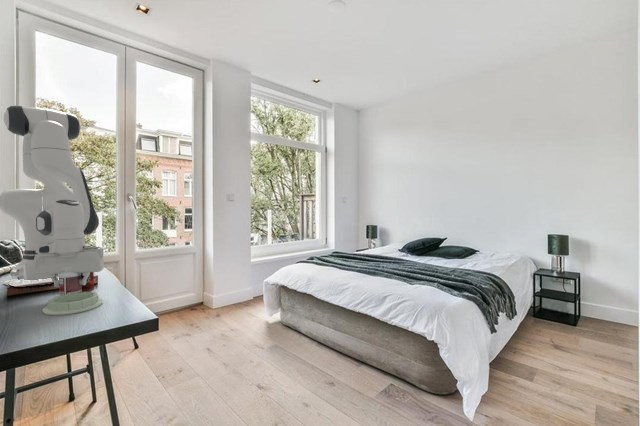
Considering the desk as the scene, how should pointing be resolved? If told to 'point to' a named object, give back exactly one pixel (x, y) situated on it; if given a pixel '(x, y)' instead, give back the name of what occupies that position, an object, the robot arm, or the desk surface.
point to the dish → (72, 303)
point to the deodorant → (88, 282)
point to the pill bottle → (69, 282)
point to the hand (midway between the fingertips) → (70, 285)
